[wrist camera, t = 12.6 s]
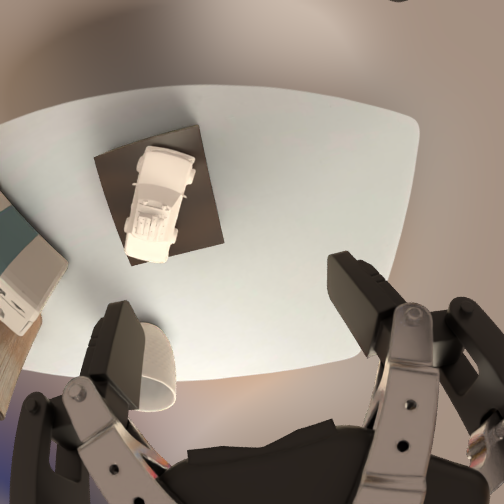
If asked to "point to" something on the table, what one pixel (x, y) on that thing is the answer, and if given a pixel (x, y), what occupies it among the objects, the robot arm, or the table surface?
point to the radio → (24, 270)
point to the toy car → (157, 203)
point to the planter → (13, 359)
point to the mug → (157, 371)
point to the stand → (192, 208)
